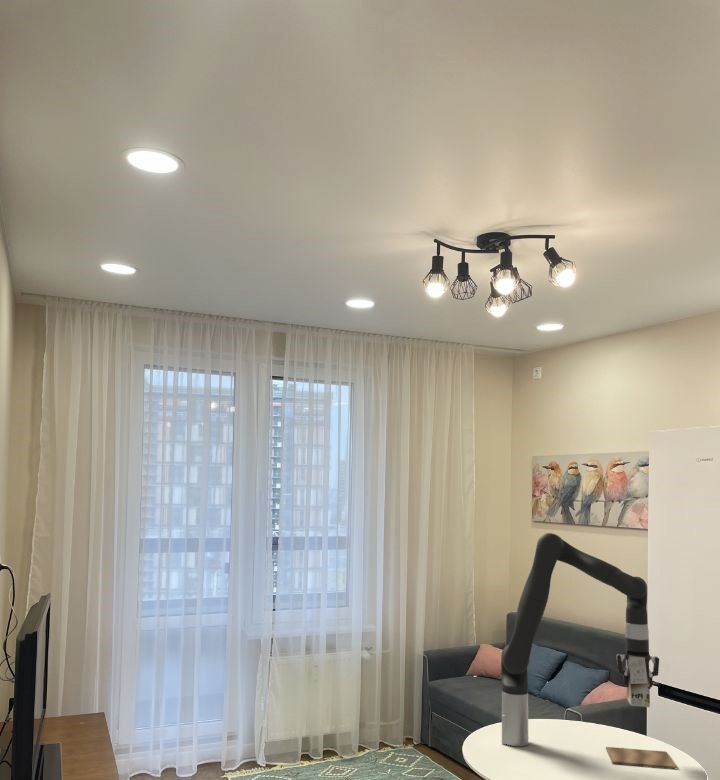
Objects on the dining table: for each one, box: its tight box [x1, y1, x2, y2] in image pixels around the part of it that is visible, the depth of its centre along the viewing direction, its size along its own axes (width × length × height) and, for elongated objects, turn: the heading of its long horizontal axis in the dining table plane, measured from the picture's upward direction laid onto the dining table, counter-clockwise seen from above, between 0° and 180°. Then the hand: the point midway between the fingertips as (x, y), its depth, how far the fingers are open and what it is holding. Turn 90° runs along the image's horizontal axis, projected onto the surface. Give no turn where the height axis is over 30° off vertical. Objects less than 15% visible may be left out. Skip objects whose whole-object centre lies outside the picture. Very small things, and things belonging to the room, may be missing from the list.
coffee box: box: [625, 655, 651, 708], centre depth 256 cm, size 9×6×16 cm
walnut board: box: [605, 746, 678, 769], centre depth 253 cm, size 20×15×1 cm
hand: (638, 687), depth 256 cm, fingers closed on coffee box, 6 cm apart
